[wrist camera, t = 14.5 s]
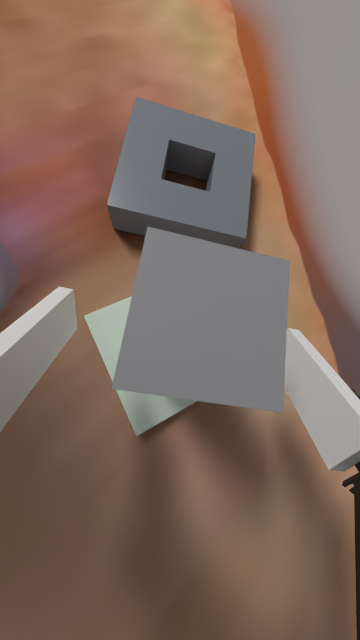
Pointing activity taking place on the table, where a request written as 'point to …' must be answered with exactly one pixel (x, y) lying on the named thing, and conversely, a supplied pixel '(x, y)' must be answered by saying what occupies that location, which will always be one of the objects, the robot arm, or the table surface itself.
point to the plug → (206, 324)
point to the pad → (108, 339)
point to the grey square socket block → (188, 159)
